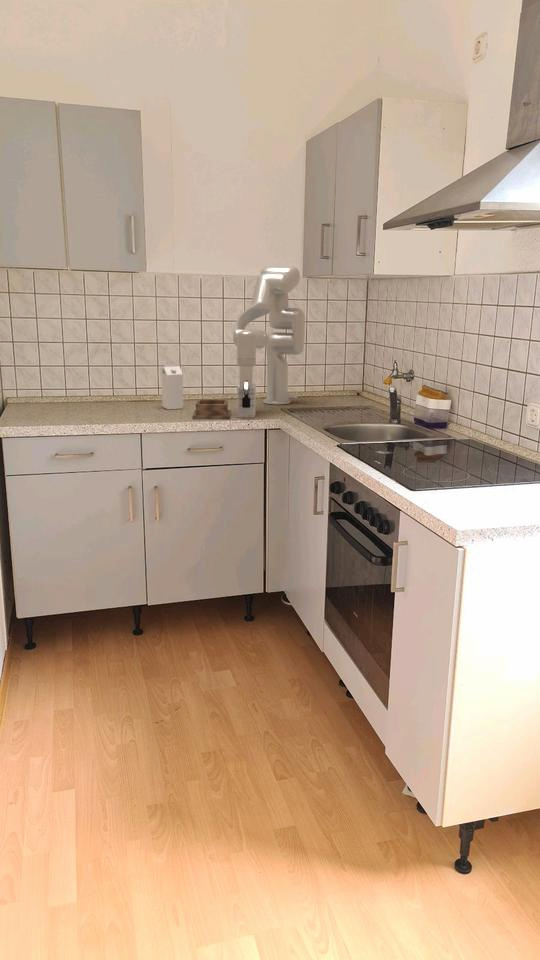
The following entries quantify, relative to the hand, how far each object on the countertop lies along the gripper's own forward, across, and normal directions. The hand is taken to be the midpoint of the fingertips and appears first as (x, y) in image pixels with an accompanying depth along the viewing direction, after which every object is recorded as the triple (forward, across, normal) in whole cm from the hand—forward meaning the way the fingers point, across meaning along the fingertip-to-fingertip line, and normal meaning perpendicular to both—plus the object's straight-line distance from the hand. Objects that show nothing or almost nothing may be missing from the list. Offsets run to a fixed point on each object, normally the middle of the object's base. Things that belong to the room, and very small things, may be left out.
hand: (246, 405), depth 288 cm
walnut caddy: (+4, 0, -14) cm, 15 cm away
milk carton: (+5, -18, -32) cm, 37 cm away
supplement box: (+5, 0, 0) cm, 5 cm away
